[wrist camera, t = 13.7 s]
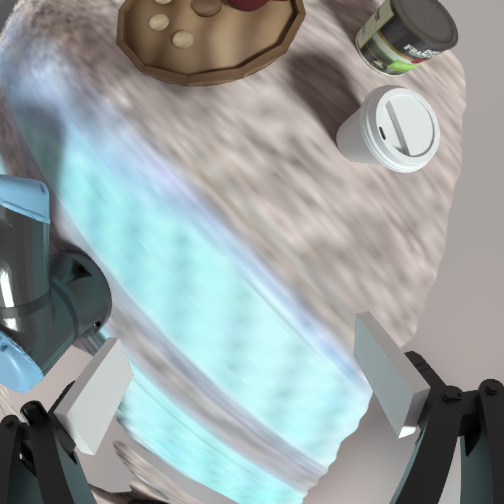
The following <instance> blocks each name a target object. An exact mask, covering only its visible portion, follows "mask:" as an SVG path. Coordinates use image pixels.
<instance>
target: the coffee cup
mask: <svg viewBox="0 0 504 504" xmlns="http://www.w3.org/2000/svg"><path fill="white" fill-rule="evenodd" d="M439 138H440V131H439V124H438V121H437V118H436V115H435V113H434V111H433V109H432V108H431V106H430V105H429V103H428V102H427V101H426V100H425V99H424V98H423V97H422V96H420V95H419V94H418V93H416V92H414V91H412V90H409V89H407V88H404V87H400V86H395V85H387V86H381V87H378V88H376V89H374V90H373V91H371V92H370V93H369V94H368V95H367V97H366V98H365V100H364V102H363V104H362V106H361V107H360V108H359V109H358V110H357V111H356V112H355V113H354V114H352V115H351V116H350V117H349V118H348V119H347V120H346V121H345V122H344V123H342V124H341V125H340V127H339V128H338V130H337V134H336V143H337V146H338V149H339V151H340V152H341V154H342V155H343V156H344V157H345V158H347V159H348V160H350V161H353V162H358V163H367V164H376V165H384V166H385V167H387V168H389V169H391V170H394V171H397V172H402V173H408V172H413V171H416V170H418V169H420V168H422V167H423V166H424V165H426V164H427V163H428V162H429V160H430V159H431V158H432V156H433V155H434V154H435V152H436V150H437V147H438V144H439Z"/></svg>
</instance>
